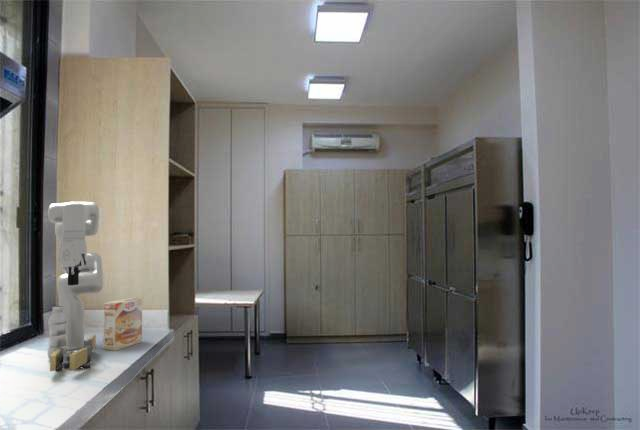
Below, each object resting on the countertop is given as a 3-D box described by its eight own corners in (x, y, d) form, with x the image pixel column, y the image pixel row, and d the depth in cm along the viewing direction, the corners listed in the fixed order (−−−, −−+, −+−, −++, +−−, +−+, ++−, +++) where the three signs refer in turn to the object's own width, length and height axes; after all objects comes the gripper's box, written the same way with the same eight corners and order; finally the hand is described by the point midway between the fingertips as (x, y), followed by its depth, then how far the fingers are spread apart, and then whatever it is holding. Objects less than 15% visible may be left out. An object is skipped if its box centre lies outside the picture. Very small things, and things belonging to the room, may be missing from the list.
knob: (91, 360, 163) (91, 340, 163) (82, 361, 162) (83, 341, 162) (97, 353, 173) (97, 334, 174) (89, 353, 172) (89, 334, 173)
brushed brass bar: (54, 369, 153) (55, 348, 153) (63, 368, 154) (64, 347, 154) (47, 379, 142) (48, 356, 143) (57, 378, 143) (57, 355, 144)
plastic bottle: (71, 357, 168) (72, 305, 169) (55, 362, 162) (56, 308, 162) (59, 355, 170) (59, 304, 171) (43, 360, 164) (43, 307, 165)
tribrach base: (56, 368, 154) (57, 353, 154) (81, 360, 163) (81, 346, 164) (74, 371, 151) (74, 356, 151) (98, 363, 160) (98, 348, 160)
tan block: (84, 367, 155) (85, 346, 155) (92, 366, 155) (92, 345, 155) (67, 377, 144) (67, 354, 144) (76, 377, 144) (76, 354, 144)
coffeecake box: (115, 350, 176) (115, 303, 177) (102, 349, 179) (103, 302, 180) (142, 342, 190) (143, 297, 191) (130, 340, 193) (130, 297, 194)
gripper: (50, 236, 161) (50, 285, 160) (78, 236, 155) (77, 287, 155) (69, 236, 168) (68, 283, 167) (96, 235, 162) (96, 284, 161)
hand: (73, 284), depth 161 cm, fingers closed
